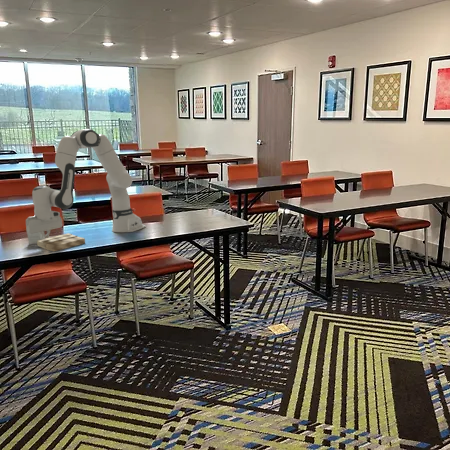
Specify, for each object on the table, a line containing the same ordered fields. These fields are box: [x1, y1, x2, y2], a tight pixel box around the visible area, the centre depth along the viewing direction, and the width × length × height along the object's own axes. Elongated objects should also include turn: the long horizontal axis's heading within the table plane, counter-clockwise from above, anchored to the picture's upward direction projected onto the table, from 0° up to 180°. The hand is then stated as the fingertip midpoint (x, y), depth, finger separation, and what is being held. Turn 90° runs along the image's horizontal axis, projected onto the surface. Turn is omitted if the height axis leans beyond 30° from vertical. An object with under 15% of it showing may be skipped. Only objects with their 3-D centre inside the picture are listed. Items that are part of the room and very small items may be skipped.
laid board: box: [45, 235, 86, 252], centre depth 240 cm, size 20×8×3 cm, turn 142°
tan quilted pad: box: [36, 232, 76, 250], centre depth 246 cm, size 20×9×3 cm, turn 142°
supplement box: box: [26, 232, 43, 245], centre depth 249 cm, size 7×7×13 cm
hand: (46, 238), depth 241 cm, fingers closed
